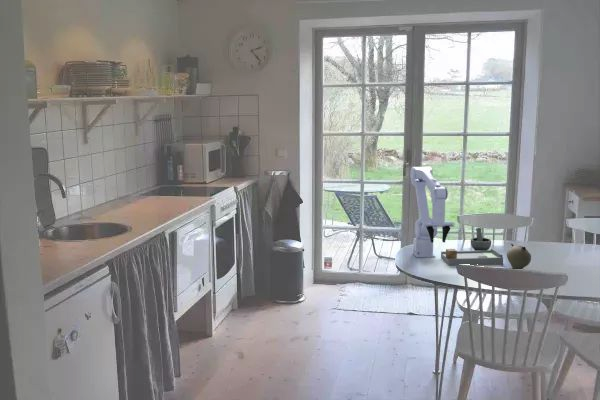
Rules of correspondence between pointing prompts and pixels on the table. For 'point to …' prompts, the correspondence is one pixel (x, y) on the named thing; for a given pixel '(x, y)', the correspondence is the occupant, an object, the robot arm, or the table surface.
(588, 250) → the table surface
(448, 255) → the block
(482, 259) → the trap lane
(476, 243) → the mortar and pestle
